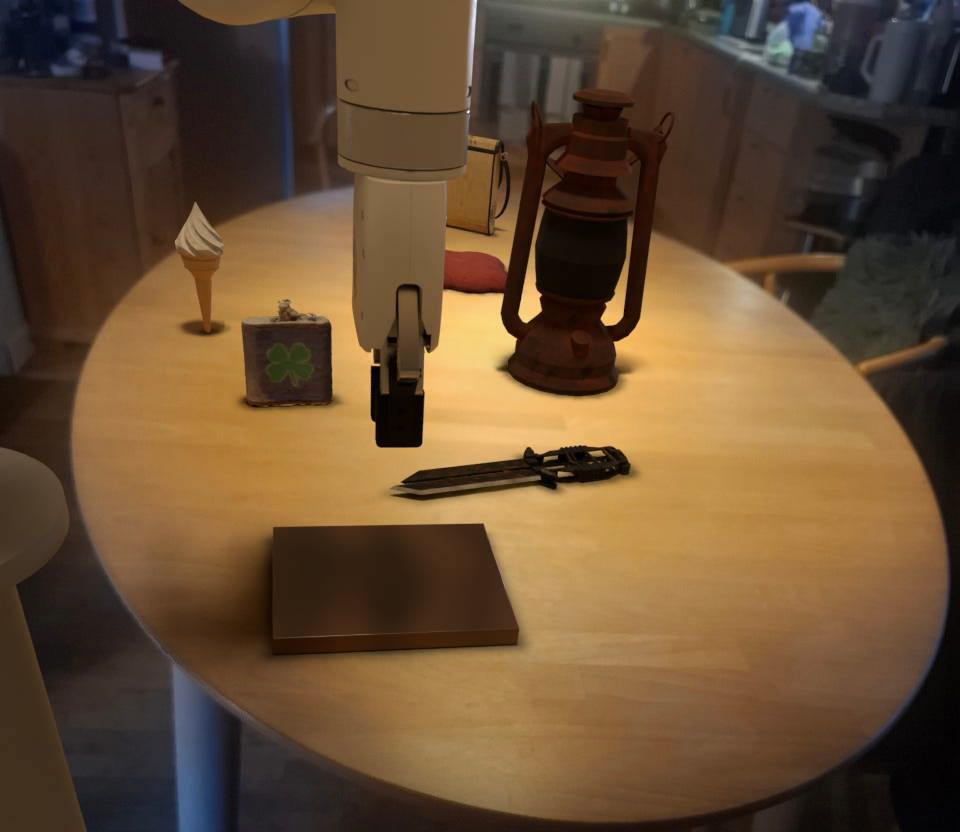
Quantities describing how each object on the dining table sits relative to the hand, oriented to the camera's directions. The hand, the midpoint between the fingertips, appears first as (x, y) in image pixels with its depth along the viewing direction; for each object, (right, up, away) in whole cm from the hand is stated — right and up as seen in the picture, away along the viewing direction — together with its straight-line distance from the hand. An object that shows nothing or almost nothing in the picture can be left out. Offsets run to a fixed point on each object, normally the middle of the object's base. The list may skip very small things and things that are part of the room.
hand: (395, 430), depth 63 cm
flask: (-15, +11, +35) cm, 39 cm away
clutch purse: (-3, +62, +100) cm, 118 cm away
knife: (+9, +1, +25) cm, 27 cm away
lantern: (+16, +18, +48) cm, 54 cm away
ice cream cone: (-28, +23, +48) cm, 60 cm away
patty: (+4, +42, +76) cm, 87 cm away
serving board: (-1, -11, +9) cm, 14 cm away
